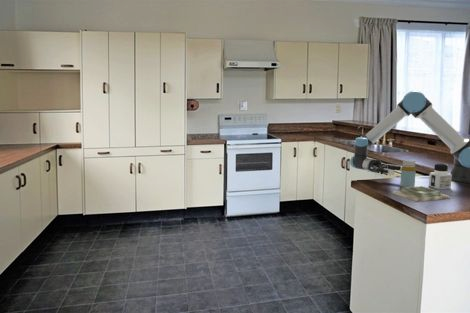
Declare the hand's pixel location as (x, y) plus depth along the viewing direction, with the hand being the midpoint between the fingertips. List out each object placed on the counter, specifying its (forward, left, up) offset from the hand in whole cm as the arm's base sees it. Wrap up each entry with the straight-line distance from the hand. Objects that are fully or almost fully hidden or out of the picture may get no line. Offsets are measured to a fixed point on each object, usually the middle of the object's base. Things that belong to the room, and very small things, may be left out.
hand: (402, 171), depth 206 cm
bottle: (-1, +3, -9) cm, 9 cm away
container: (-19, +7, -9) cm, 22 cm away
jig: (+5, +19, -8) cm, 22 cm away
